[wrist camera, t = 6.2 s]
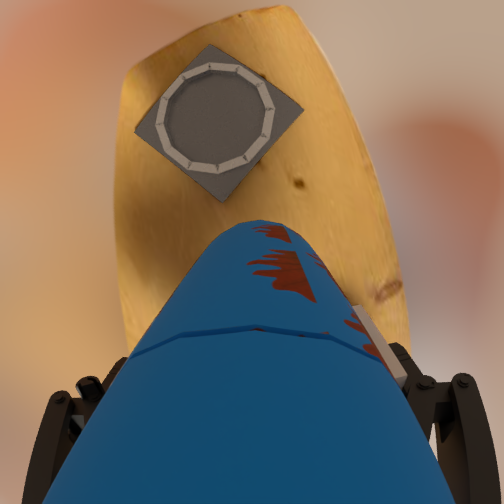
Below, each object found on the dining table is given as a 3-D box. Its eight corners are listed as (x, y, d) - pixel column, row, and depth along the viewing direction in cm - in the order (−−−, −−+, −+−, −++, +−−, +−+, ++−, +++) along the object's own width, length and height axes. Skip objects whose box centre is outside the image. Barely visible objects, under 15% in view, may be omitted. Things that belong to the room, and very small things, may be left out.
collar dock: (303, 111, 35) (306, 107, 33) (223, 202, 39) (221, 204, 37) (210, 46, 32) (207, 39, 30) (136, 133, 36) (129, 131, 34)
